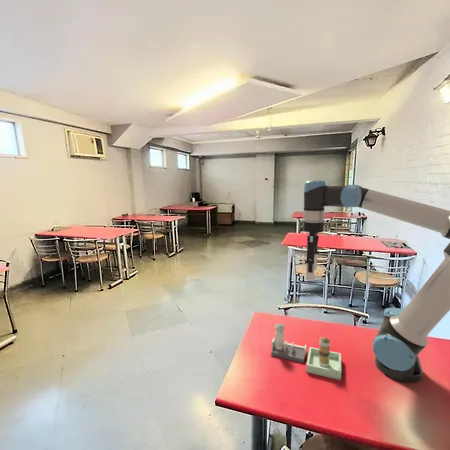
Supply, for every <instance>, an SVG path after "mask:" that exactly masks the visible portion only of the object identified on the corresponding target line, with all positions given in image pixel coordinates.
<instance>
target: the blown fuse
mask: <svg viewBox="0 0 450 450" xmlns="http://www.w3.org/2000/svg"><path fill="white" fill-rule="evenodd" d="M330 346H331V340H330V339H329V338H327V337H320V338H319V348H318V349H319V365H320V366H322V367H329V354H330V351H331V350H330V349H331V348H330Z"/></svg>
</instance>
